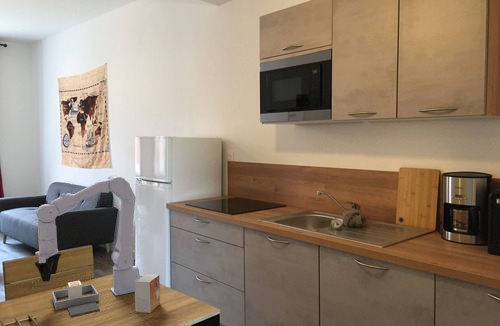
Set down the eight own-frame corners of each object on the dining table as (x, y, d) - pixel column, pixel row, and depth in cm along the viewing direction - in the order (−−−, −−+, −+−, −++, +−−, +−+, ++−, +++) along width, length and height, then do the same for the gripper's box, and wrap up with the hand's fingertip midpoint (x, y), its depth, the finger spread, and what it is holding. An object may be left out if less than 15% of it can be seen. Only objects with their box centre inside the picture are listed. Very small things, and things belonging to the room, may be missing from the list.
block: (80, 296, 149) (79, 280, 149) (82, 300, 145) (81, 284, 145) (68, 298, 147) (67, 282, 147) (70, 303, 143) (69, 286, 142)
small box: (150, 313, 133) (149, 282, 133) (135, 312, 134) (134, 281, 134) (160, 303, 141) (159, 274, 141) (145, 302, 142) (145, 273, 142)
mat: (94, 302, 143) (94, 301, 143) (99, 310, 136) (99, 309, 136) (67, 308, 138) (67, 307, 138) (70, 316, 131) (70, 315, 131)
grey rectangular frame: (92, 290, 155) (92, 284, 155) (98, 300, 145) (98, 293, 144) (52, 298, 147) (51, 291, 147) (55, 309, 137) (55, 302, 137)
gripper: (41, 234, 146) (43, 271, 147) (27, 245, 132) (30, 285, 133) (62, 233, 147) (64, 270, 148) (50, 243, 133) (53, 283, 134)
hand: (49, 277), depth 141 cm, fingers open, 7 cm apart
